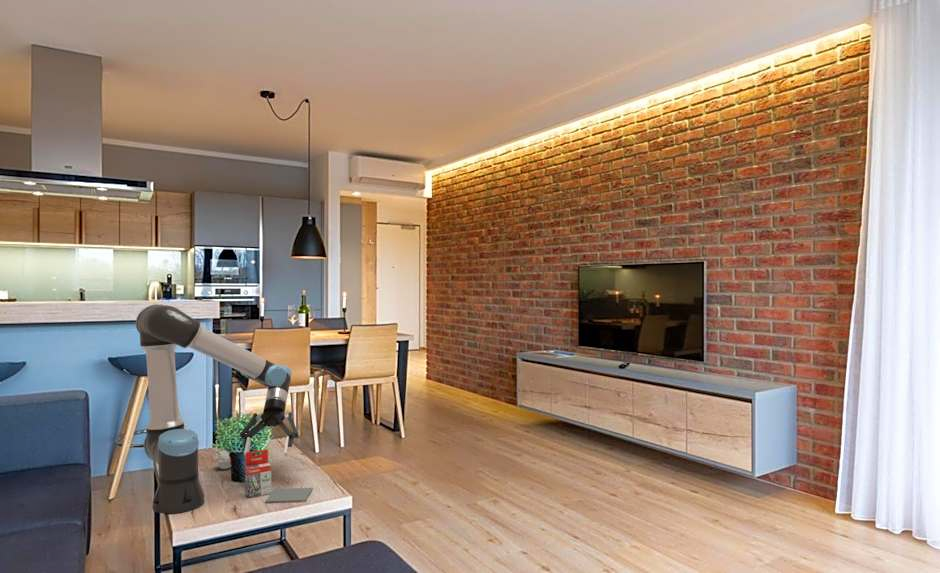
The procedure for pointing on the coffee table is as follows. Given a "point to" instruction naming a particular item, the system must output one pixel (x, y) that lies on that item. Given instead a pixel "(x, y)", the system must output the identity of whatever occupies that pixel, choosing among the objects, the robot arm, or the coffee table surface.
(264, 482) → the ink box
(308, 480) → the coffee table surface
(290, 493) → the mat
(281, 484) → the coffee table surface
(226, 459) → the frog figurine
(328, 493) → the coffee table surface
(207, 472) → the coffee table surface
